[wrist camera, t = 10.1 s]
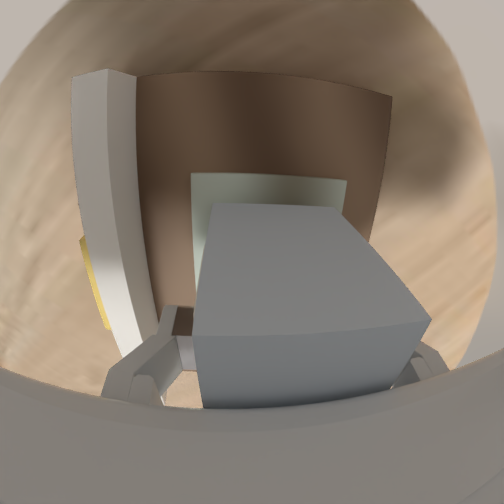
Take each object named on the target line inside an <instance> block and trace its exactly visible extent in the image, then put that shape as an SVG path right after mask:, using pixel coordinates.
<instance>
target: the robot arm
mask: <svg viewBox="0 0 504 504" xmlns="http://www.w3.org/2000/svg"><path fill="white" fill-rule="evenodd" d="M193 313H194V306H183V305H179V306H178V305H165V306H164V308H163V311H162V315H161V318H160V322H159V326H158V330H157V333H156V335H151V336H150V337H149V338H148V339H146V340H145V341H144V342H143V343H141V344H140V345H139V346H138V347H136V348H135V349H134V350H133V351H131V352H130V353H129V354H128V355H126V356H125V357H124V358H123V359H121V360H120V361H119V362H118V363H116V364H115V365H114V366H113V367H111V368H110V369H109V371H108V374H107V377H106V380H105V383H104V386H103V390H102V393H101V396H95V395H90V394H86V393H81V392H77V391H73V390H69V389H65V388H61V387H58V386H54V385H51V384H48V383H44V382H41V381H38V380H35V379H32V378H29V377H26V376H23V375H20V374H18V373H15V372H12V371H10V370H7V369H5V368H2V367H0V504H504V348H503V349H501V350H498V351H496V352H494V353H492V354H490V355H488V356H486V357H483V358H481V359H479V360H477V361H474V362H472V363H469V364H467V365H464V366H462V367H459V368H457V369H454V370H451V371H450V370H449V369H448V367H447V365H446V364H445V362H444V360H443V359H442V357H441V356H440V354H439V353H438V351H436V350H435V349H433V348H431V347H430V346H428V345H426V344H425V343H423V342H421V341H420V342H419V344H418V345H417V347H416V349H415V351H414V352H413V354H412V356H411V357H410V359H409V360H408V362H407V364H406V365H405V367H404V368H403V370H402V371H401V373H400V374H399V376H398V377H397V379H396V380H395V382H394V383H393V385H392V389H389V390H385V391H381V392H376V393H372V394H367V395H363V396H358V397H352V398H347V399H341V400H335V401H329V402H322V403H314V404H306V405H296V406H286V407H272V408H252V409H203V408H183V407H170V406H164V404H163V402H162V399H161V396H162V395H163V393H164V392H165V391H166V390H167V389H168V387H169V386H170V385H171V384H172V383H173V381H174V380H175V379H176V378H177V377H178V375H179V374H180V373H181V372H182V369H186V370H197V368H196V362H195V355H194V348H193V341H192V329H193V322H194V318H193Z"/></svg>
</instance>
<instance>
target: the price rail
mask: <svg viewBox="0 0 504 504" xmlns="http://www.w3.org/2000/svg"><path fill="white" fill-rule="evenodd" d="M136 80H137V77H135V76H132V75H129V74H126V73H123V72H119V71H116V70H112V69H109V68H107V69H103V70H98V71H94V72H90V73H86V74H82V75H78V76H75V77H72V89H71V129H72V148H73V161H74V171H75V180H76V188H77V195H78V202H79V208H80V214H81V219H82V225H83V230H84V236H83V237H82V238H81V239H80V240H79V241H80V246H81V250H82V254H83V258H84V262H85V266H86V269H87V273H88V276H89V280H90V283H91V287H92V290H93V293H94V296H95V299H96V302H97V305H98V308H99V311H100V314H101V317H102V320H103V322H104V325H105V328H106V329H109V330H112V332H113V335H114V337H115V340H116V342H117V345H118V347H119V350H120V352H121V355H122V357H123V358H124V357H125V356H126V355H128V354H129V353H130V352H131V351H133V350H134V349H135V348H136V347H138V346H139V345H140V344H141V343H143V342H144V341H145V340H146V339H148V338H149V337H150V336H151V335H156V333H157V330H158V326H159V323H158V318H157V313H156V308H155V303H154V298H153V293H152V288H151V282H150V276H149V271H148V264H147V258H146V251H145V244H144V237H143V229H142V220H141V211H140V200H139V189H138V175H137V156H136ZM166 394H167V390H166V391H165V392H164V393H163V395H162V396H161V399H162V402H163V404H164V405H165V401H166Z"/></svg>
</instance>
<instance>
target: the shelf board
mask: <svg viewBox="0 0 504 504" xmlns="http://www.w3.org/2000/svg"><path fill="white" fill-rule="evenodd" d="M391 107H392V97H391V96H388V95H385V94H381V93H377V92H374V91H370V90H366V89H362V88H358V87H354V86H349V85H344V84H340V83H335V82H329V81H324V80H318V79H312V78H305V77H298V76H290V75H281V74H270V73H257V72H234V71H202V72H180V73H167V74H156V75H148V76H140V77H137V80H136V156H137V175H138V189H139V200H140V211H141V220H142V229H143V237H144V244H145V251H146V258H147V264H148V271H149V276H150V282H151V288H152V293H153V298H154V303H155V308H156V313H157V318H158V323H159V322H160V318H161V315H162V311H163V308H164V306H165V305H178V306H179V305H183V306H195V299H196V292H197V286H198V280H199V273H200V267H201V261H202V255H203V250H204V245H205V243H206V237H207V231H208V226H209V220H210V215H211V209H212V204H213V203H248V204H280V205H303V206H321V207H335V208H336V209H337V210H338V211H339V212H340V213H341V214H342V215H343V216H344V218H345V219H346V220H347V221H348V222H349V223H350V224H351V225H352V226H353V227H354V228H355V229H356V230H357V231H358V232H359V233H360V234H361V235H362V236H363V238H364V239H365V240H366V241H367V242H369V238H370V234H371V230H372V226H373V221H374V217H375V212H376V207H377V203H378V198H379V193H380V187H381V182H382V176H383V170H384V164H385V157H386V151H387V143H388V135H389V127H390V117H391ZM182 371H196V372H197V370H186V369H182Z"/></svg>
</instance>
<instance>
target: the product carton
mask: <svg viewBox="0 0 504 504" xmlns="http://www.w3.org/2000/svg"><path fill="white" fill-rule="evenodd" d="M193 318H194V322H193V329H192V341H193V348H194V355H195V362H196V368H197V374H198V380H199V386H200V392H201V398H202V403H203V408H204V409H252V408H272V407H286V406H296V405H306V404H314V403H322V402H329V401H335V400H341V399H347V398H352V397H358V396H363V395H367V394H372V393H376V392H381V391H385V390H389V389H390V388H391V386H392V385H393V383H394V382H395V380H396V379H397V377H398V376H399V374H400V373H401V371H402V370H403V368H404V367H405V365H406V364H407V362H408V360H409V359H410V357H411V356H412V354H413V352H414V351H415V349H416V347H417V345H418V344H419V342H420V340H421V338H422V337H423V335H424V333H425V331H426V329H427V327H428V326H429V324H430V322H431V320H432V319H431V317H430V316H429V315H428V313H427V312H426V311H425V309H424V308H423V307H422V306H421V304H420V303H419V302H418V301H417V299H416V298H415V297H414V295H413V294H412V293H411V292H410V291H409V289H408V288H407V287H406V286H405V284H404V283H403V282H402V281H401V280H400V278H399V277H398V276H397V275H396V274H395V272H394V271H393V270H392V269H391V268H390V267H389V265H388V264H387V263H386V262H385V261H384V260H383V259H382V257H381V256H380V255H379V254H378V253H377V252H376V251H375V250H374V248H373V247H372V246H371V245H370V244H369V243H368V242H367V241H366V240H365V239H364V238H363V236H362V235H361V234H360V233H359V232H358V231H357V230H356V229H355V228H354V227H353V226H352V225H351V224H350V223H349V222H348V221H347V220H346V219H345V218H344V216H343V215H342V214H341V213H340V212H339V211H338V210H337V209H336V208H335V207H321V206H303V205H280V204H248V203H213V204H212V209H211V215H210V220H209V226H208V231H207V237H206V243H205V245H204V250H203V255H202V261H201V267H200V273H199V280H198V286H197V292H196V299H195V306H194V313H193Z"/></svg>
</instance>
